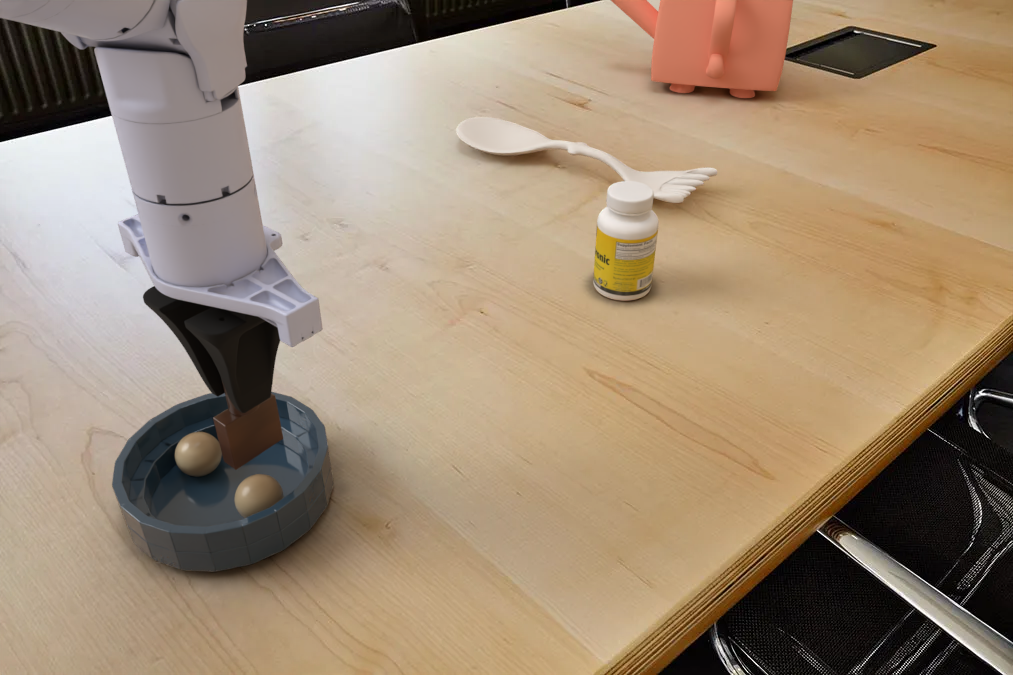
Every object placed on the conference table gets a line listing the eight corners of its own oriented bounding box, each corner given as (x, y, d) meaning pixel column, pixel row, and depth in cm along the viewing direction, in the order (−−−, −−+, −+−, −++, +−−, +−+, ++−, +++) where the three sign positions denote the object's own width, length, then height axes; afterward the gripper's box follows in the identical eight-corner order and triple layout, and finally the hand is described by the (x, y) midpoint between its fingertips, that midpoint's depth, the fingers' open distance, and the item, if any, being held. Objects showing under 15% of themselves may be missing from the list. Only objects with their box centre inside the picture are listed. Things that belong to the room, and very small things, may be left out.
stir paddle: (239, 472, 51) (209, 350, 45) (220, 459, 52) (189, 338, 46) (286, 440, 53) (264, 321, 48) (268, 428, 54) (244, 309, 49)
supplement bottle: (589, 271, 81) (596, 176, 76) (646, 271, 81) (657, 176, 76) (595, 302, 77) (602, 204, 71) (655, 302, 77) (667, 204, 71)
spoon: (678, 225, 89) (682, 194, 87) (441, 149, 104) (440, 122, 102) (715, 194, 95) (720, 165, 93) (486, 127, 110) (486, 101, 108)
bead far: (197, 492, 57) (188, 459, 55) (170, 472, 58) (160, 439, 57) (234, 467, 59) (226, 435, 57) (208, 449, 60) (199, 416, 58)
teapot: (593, 98, 119) (602, -39, 109) (612, 50, 137) (622, -72, 127) (778, 114, 115) (806, -27, 104) (773, 62, 133) (796, -63, 122)
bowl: (210, 615, 50) (196, 570, 47) (88, 509, 56) (70, 465, 54) (374, 487, 58) (369, 443, 56) (251, 408, 65) (242, 365, 62)
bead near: (259, 539, 54) (251, 506, 52) (229, 516, 55) (220, 483, 53) (296, 511, 55) (289, 478, 54) (266, 490, 57) (259, 457, 55)
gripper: (356, 193, 41) (378, 411, 49) (177, 119, 48) (222, 319, 56) (233, 250, 36) (280, 480, 44) (57, 159, 43) (124, 370, 51)
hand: (241, 394), depth 50 cm, fingers closed on stir paddle, 2 cm apart
